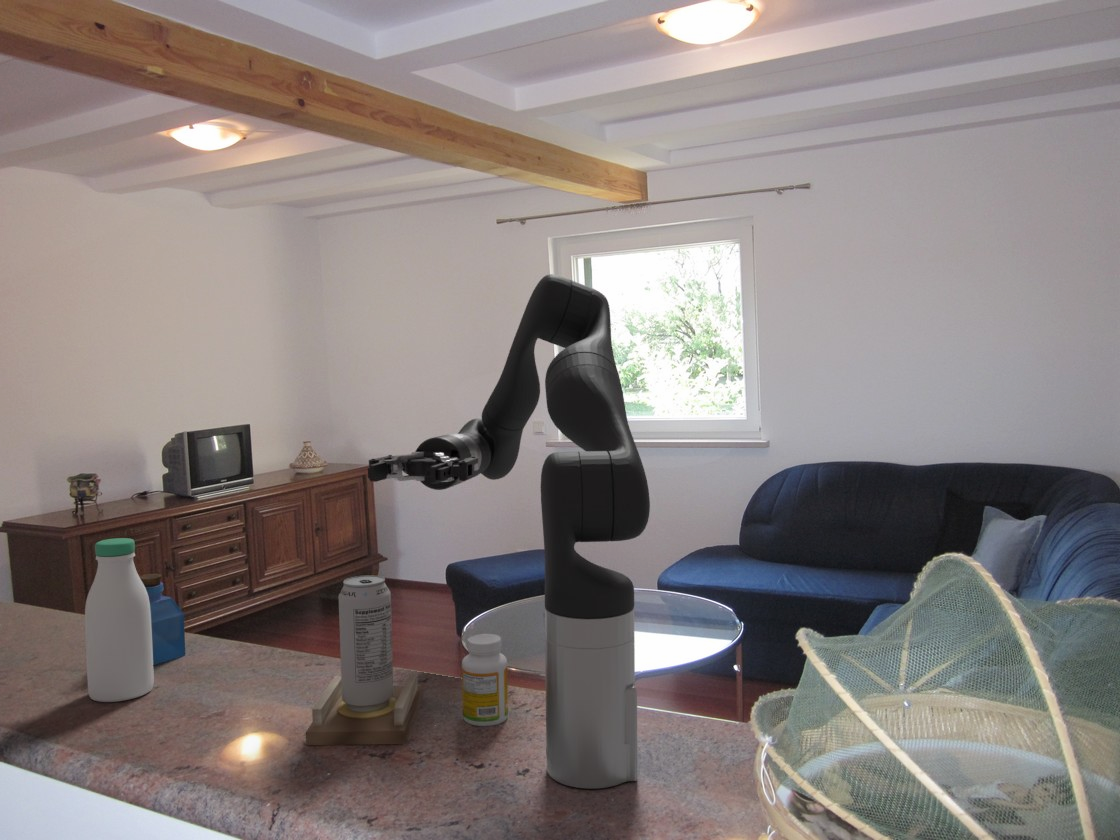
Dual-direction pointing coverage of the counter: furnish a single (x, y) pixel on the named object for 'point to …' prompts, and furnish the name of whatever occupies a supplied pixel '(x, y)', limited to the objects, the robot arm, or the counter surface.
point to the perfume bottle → (164, 622)
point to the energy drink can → (366, 643)
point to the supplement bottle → (484, 681)
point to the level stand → (364, 717)
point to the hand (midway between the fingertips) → (402, 474)
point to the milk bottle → (118, 626)
